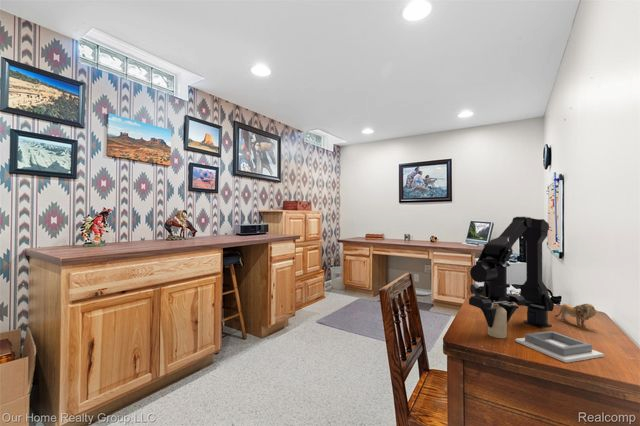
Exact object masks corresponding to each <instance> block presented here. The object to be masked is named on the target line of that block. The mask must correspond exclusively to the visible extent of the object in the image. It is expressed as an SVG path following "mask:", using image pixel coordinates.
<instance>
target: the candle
mask: <svg viewBox="0 0 640 426" xmlns="http://www.w3.org/2000/svg"><path fill="white" fill-rule="evenodd" d="M493 308H495V309H496V314H495V318H494V323H493V326H492V328H491V327H489V326H488V325H487V335H489V336H490V337H492V338H496V339H506V338H507V337H508V333H507V332H508V327H507V324H508V323H507V311H506V310H505V309H504V308H502V307H501V306H499V305H498V304H493Z"/></svg>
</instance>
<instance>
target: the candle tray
mask: <svg viewBox="0 0 640 426" xmlns="http://www.w3.org/2000/svg"><path fill="white" fill-rule="evenodd" d="M516 342H517V343H519V344H521V345H523V346H525V347H527V348H529V349H532V350H535V351H537V352H538V353H542V354H544V355H546V356H549V357H551V358H554V359H556V360H559V361H560V362H562V363H565V364H568V363H574V362H579V361H584V360H585V361H586V360H590V359H599V358H603V357H604V353H603V352H600V351H597V350H594V349H593V345H592V344H591V343H588V342H585V341H582V340H579V339H575V338H573V337H570V336H567V335H565V334H561V333H559V332H555V331H553V330H548V331H542V332H541V331H540V332H539V331H538V332H532V333H525V334H524V337H520V338H515V343H516Z"/></svg>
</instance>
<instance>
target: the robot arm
mask: <svg viewBox="0 0 640 426" xmlns="http://www.w3.org/2000/svg"><path fill="white" fill-rule="evenodd" d="M549 230H550V224H549V222H547V221H546V220H545V219H543V218H534V217H530V216H515V217H512V220H511V222H510V223H509V225H508V226H507V227H506V228H505V229H504V231H502V233H501V234H500V235H499V236H497V237H495V238H492V239H490V240H489V241H487V242H486V243H485V245H484V246H483V248H482V250H481V251H480V252H481V253H480V254H479V257H478V259H477V260H476V261H475V264H474V265H473V266H471V268H470V270H469V274H470V277H471V279H472V280H473V281H474V282H476V283H475V284H470V285H469V291H470V293H471V295H472V296H469V298H468V304H469V306H473V307H475V308H479V309H480V310H481V311H482V313H483V315H484V318H485V321H486V324H487V327H488V326H489V327H491V328H492V326H493V323H494V318H495V314H496V309H495V308H493V305H499V306H501V307H502V308H504V309H505V310H506V311H507V324H508V323H509V321H510V319H511V318H512V317H513V315H514V314H515V312H516V310H517V309H519V307H527V308H526V320H525V319H523V322H524V323H525V324H528V325H531V326H533V327H534V326H535V327H537V328H547V327H552V326H553V324H551V323H549V322H548V319H549V318H548V317H549V316H548V315H549V314H548V313H549V312H553V311H554V306H555V303H554V302H553V300H552V299H551V297H550V295H549V289H548V288H547V285H545V283H544V282H543V242H544V241H545V239H546V238H548V236H549V235H548V234H549ZM520 237H522V238H523V240H524V241H525V243H526V247H525V248H526V249H525V251H526V252H525V253H526V255H525V256H526V258H525V259H526V262H525V263H526V264H525V265H526V266H525V267H526V280H525V281H524V283H523V284H521V285H520V287H519V288H520V293H519V295H518V294H514V293H508V289H509V288H510V287H511V284H510V283H508V267H510V266H511V265H510V263H509V262H507V261H508V260H509V259H510V258H511V256H512V254H513V251H514V249H513V246H514V244H516V242H517V241H518V239H519V238H520ZM477 283H483V285H480V286H479V284H477ZM473 295H474V296H473Z"/></svg>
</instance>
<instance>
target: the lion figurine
mask: <svg viewBox="0 0 640 426" xmlns="http://www.w3.org/2000/svg"><path fill="white" fill-rule="evenodd" d="M597 314H598V310H597V309H596V308H595V306H594V305H593V304H591V303H583V304H579V305H575V306H571V304H568V303H563V304H562V305H561V306H560V310H559V313H558V314H554V317H555V318H556V317H559V316H560V315H561V317H560V318H561V322H564V323H565V322H566V320H567V317H566V316H567V315H568V316H570V317H572V318H575V321H576V327H577V328H583V327H584V328H586V326H587V325H586V324H585V321H588V320H589V319H592V318H594V317H595V316H596V315H597Z"/></svg>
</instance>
